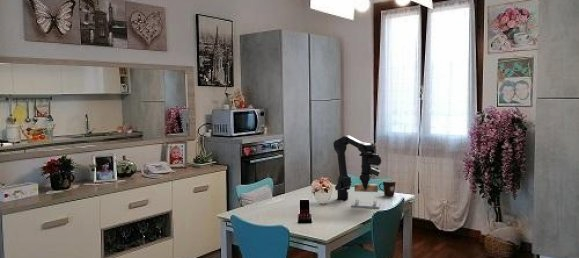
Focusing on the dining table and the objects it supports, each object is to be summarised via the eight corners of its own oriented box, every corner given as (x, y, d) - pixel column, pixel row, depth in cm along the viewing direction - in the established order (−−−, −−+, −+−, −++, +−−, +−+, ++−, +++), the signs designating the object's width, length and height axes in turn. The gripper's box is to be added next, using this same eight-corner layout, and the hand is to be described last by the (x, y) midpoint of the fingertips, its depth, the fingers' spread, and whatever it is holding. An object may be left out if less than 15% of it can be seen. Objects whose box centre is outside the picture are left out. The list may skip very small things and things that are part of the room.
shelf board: (354, 191, 279) (354, 185, 279) (354, 189, 285) (354, 183, 284) (377, 192, 277) (377, 185, 276) (377, 190, 282) (377, 183, 282)
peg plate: (351, 206, 279) (351, 200, 278) (353, 203, 288) (353, 197, 288) (379, 208, 274) (379, 202, 274) (380, 204, 284) (380, 198, 284)
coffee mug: (394, 194, 314) (394, 179, 313) (396, 196, 305) (396, 182, 305) (377, 193, 315) (377, 179, 314) (379, 196, 306) (379, 182, 306)
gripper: (378, 166, 268) (378, 192, 270) (380, 162, 286) (380, 186, 287) (359, 165, 271) (359, 191, 272) (362, 161, 289) (362, 185, 290)
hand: (366, 188), depth 281 cm, fingers closed on shelf board, 6 cm apart
